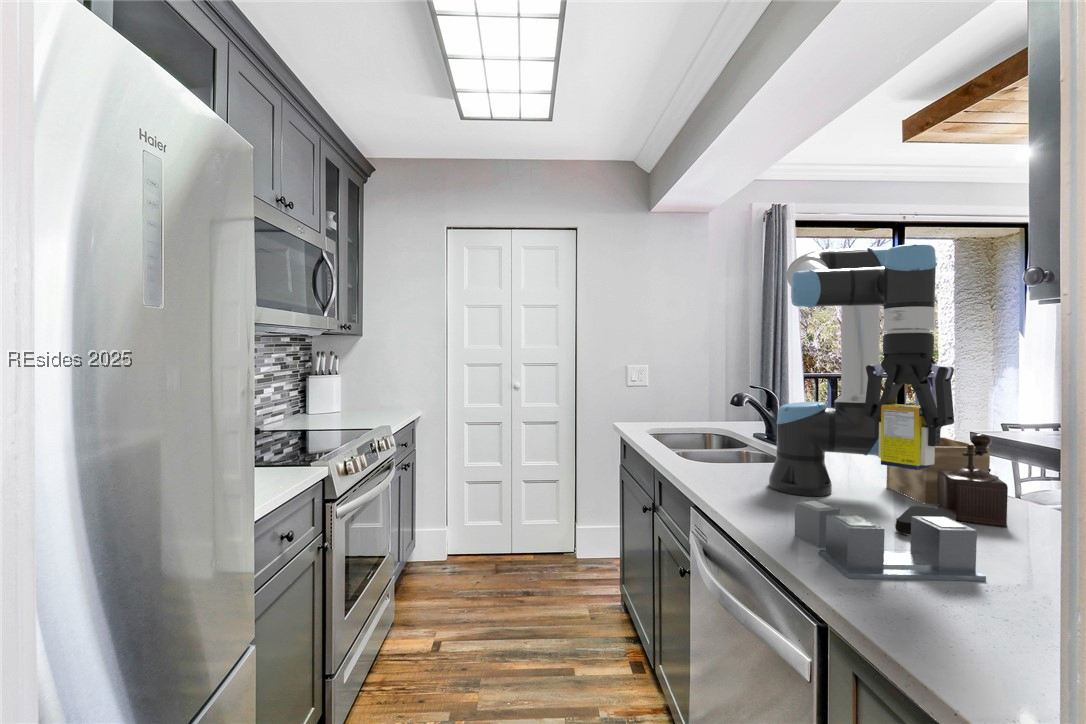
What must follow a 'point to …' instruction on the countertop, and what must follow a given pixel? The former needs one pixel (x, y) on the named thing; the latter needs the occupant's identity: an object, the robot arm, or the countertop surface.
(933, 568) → the rail panel
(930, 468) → the bottle crate
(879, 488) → the countertop surface
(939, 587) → the countertop surface
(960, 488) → the manual coffee grinder
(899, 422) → the supplement box
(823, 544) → the module
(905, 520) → the black sponge
